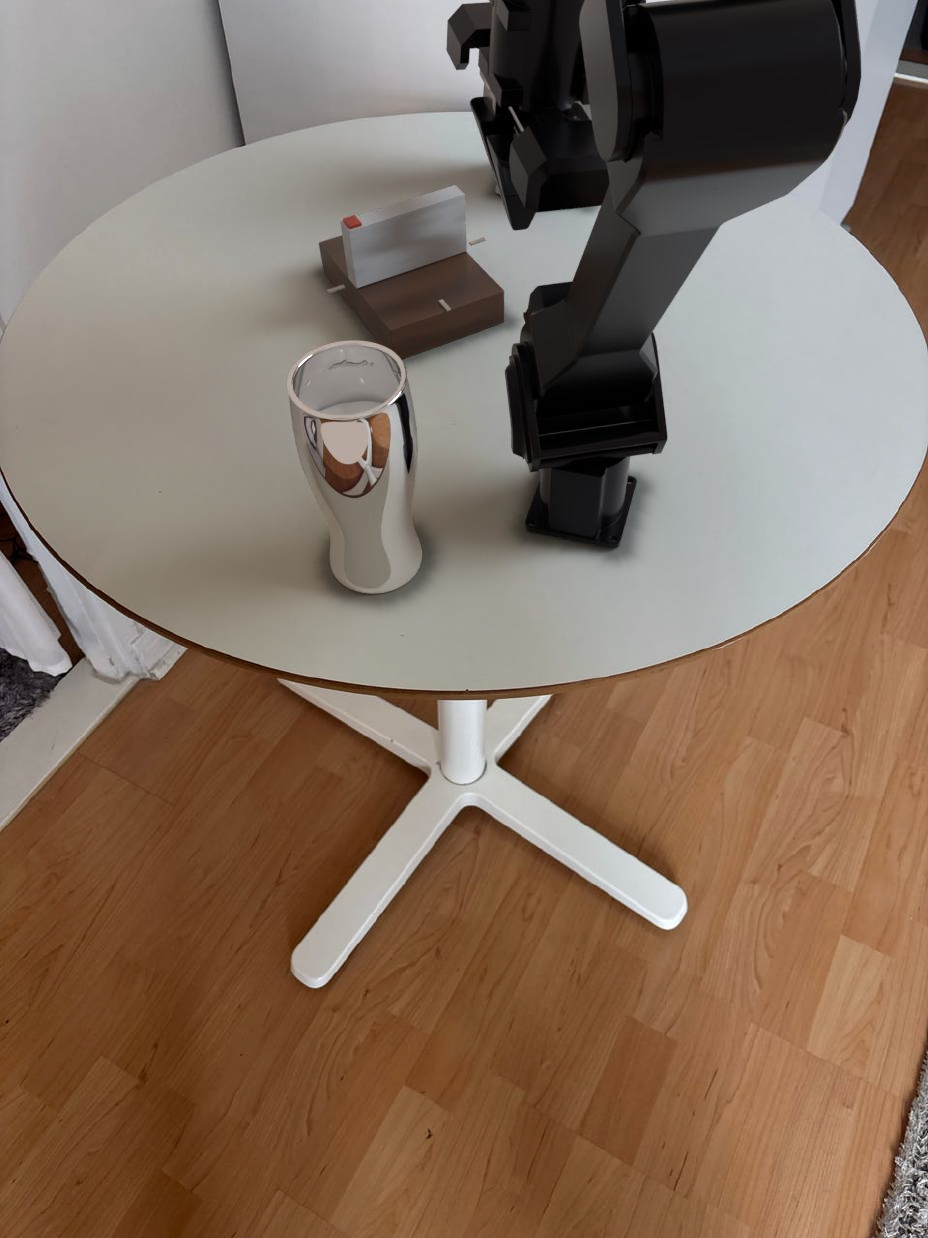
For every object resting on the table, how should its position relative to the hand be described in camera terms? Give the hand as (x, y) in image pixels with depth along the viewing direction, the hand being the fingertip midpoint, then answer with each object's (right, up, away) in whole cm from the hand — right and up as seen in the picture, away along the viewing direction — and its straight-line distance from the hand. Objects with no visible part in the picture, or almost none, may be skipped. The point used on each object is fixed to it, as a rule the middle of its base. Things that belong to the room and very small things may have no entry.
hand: (518, 226), depth 66 cm
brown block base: (-8, +1, +17) cm, 19 cm away
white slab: (-8, +3, +14) cm, 17 cm away
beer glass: (-9, -22, 0) cm, 24 cm away
